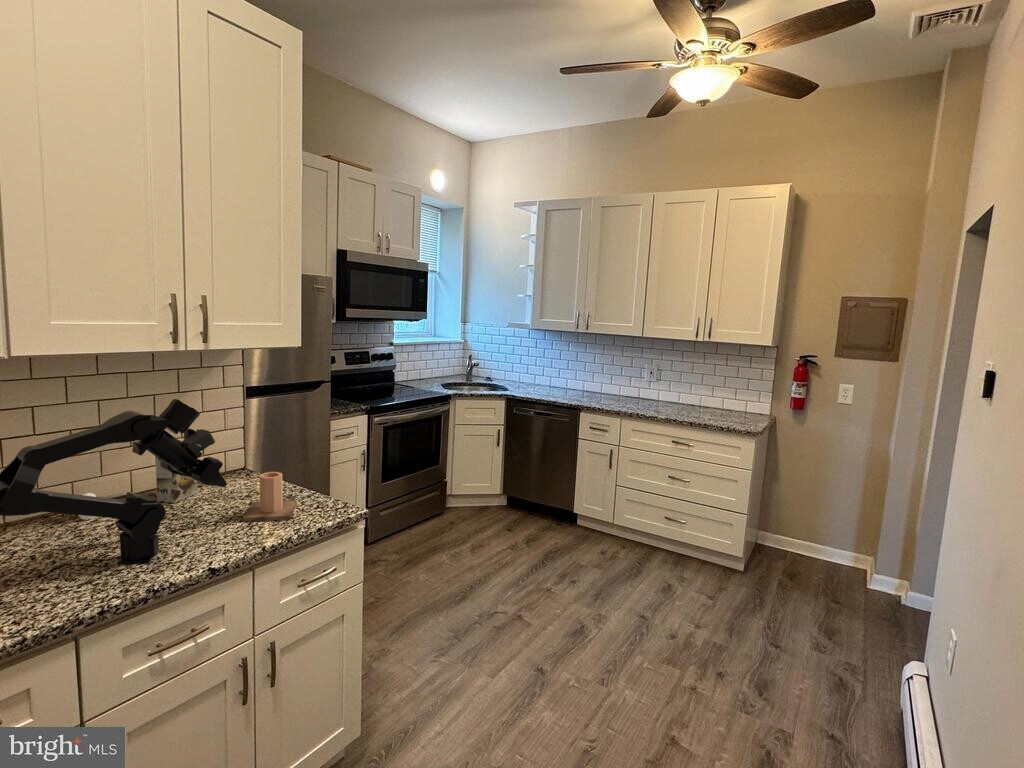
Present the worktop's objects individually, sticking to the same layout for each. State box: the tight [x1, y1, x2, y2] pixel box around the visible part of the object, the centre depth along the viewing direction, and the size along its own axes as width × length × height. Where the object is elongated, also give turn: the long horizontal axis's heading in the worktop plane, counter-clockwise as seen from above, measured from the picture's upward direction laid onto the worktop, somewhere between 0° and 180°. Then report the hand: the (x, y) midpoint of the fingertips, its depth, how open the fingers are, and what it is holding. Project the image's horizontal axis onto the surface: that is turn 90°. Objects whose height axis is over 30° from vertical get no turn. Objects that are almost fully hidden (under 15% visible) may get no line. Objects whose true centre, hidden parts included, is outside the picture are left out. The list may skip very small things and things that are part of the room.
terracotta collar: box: [258, 471, 284, 513], centre depth 157 cm, size 6×6×10 cm
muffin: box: [77, 492, 97, 521], centre depth 149 cm, size 6×6×7 cm
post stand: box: [242, 499, 298, 523], centre depth 158 cm, size 12×12×5 cm
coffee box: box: [155, 456, 198, 504], centre depth 165 cm, size 9×6×16 cm
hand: (215, 481), depth 142 cm, fingers open, 9 cm apart
